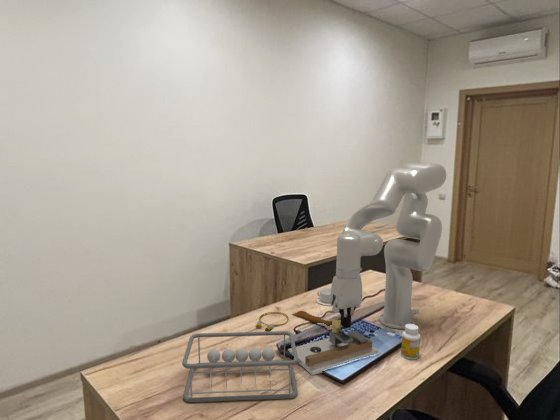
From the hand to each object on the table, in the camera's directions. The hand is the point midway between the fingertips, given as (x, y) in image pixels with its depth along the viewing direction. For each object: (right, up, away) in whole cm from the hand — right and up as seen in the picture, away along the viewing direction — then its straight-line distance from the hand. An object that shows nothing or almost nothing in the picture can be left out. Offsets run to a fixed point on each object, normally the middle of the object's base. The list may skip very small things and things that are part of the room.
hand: (345, 326), depth 131 cm
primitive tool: (-9, -4, +20) cm, 23 cm away
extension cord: (-25, -4, +19) cm, 32 cm away
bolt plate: (-5, -8, -4) cm, 10 cm away
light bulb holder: (-2, -6, -3) cm, 7 cm away
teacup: (-1, -1, +39) cm, 39 cm away
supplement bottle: (+20, -8, -5) cm, 22 cm away
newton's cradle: (-33, -3, -11) cm, 35 cm away
